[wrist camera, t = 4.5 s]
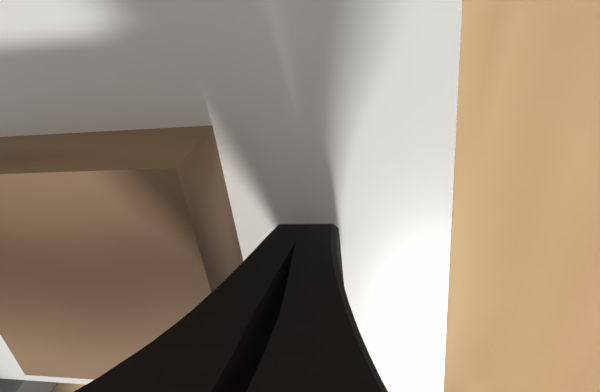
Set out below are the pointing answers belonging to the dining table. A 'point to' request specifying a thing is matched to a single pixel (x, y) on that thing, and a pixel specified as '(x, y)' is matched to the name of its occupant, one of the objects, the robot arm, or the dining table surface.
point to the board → (277, 130)
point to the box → (25, 385)
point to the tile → (107, 242)
